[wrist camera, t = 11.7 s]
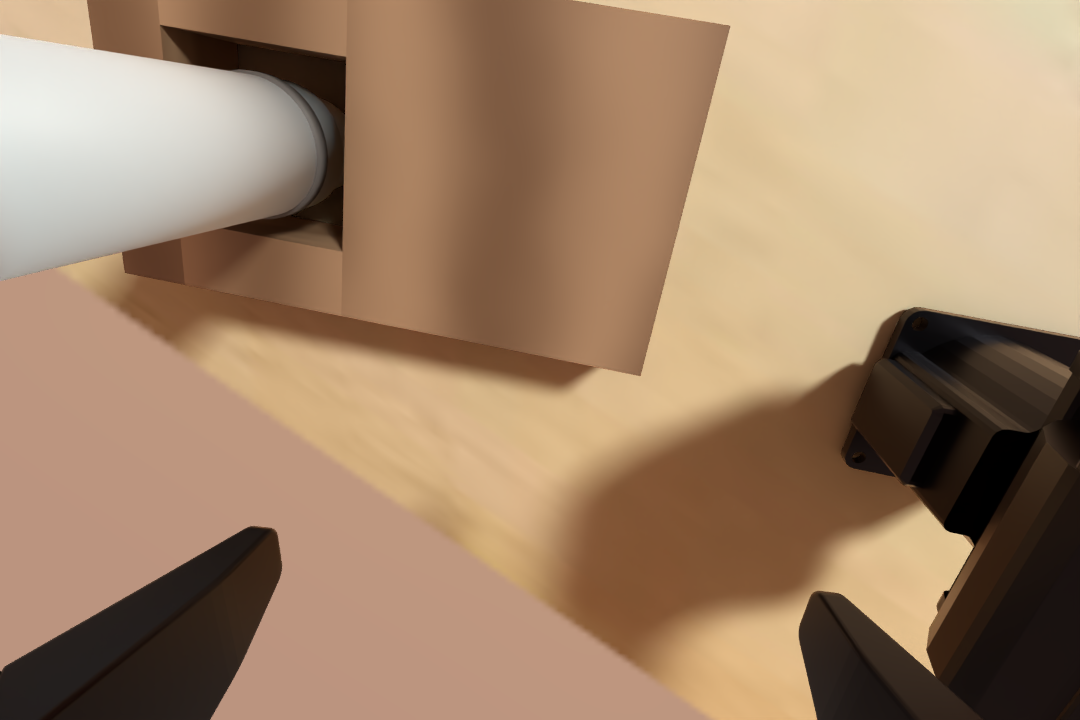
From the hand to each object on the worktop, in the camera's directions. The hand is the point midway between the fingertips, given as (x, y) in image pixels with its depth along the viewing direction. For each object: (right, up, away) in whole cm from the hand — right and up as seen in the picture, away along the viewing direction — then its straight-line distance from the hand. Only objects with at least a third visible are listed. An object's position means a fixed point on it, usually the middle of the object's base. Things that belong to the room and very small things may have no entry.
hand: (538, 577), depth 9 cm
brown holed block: (-4, +11, +11) cm, 16 cm away
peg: (-8, +11, +11) cm, 18 cm away
